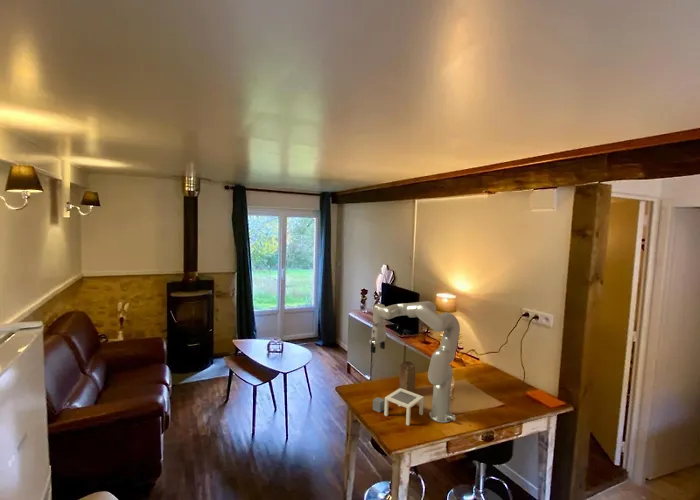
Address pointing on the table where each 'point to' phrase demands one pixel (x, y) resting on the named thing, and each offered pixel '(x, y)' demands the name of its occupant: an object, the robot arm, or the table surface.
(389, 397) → the frame
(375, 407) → the stone
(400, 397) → the trapdoor
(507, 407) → the table surface
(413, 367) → the block
